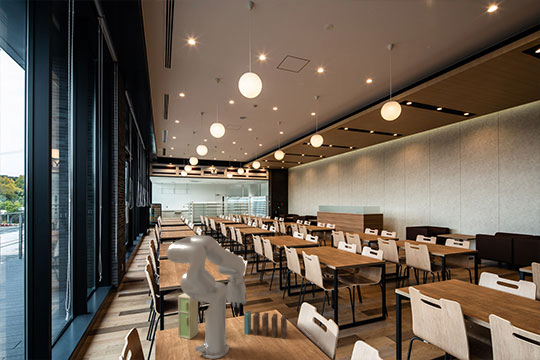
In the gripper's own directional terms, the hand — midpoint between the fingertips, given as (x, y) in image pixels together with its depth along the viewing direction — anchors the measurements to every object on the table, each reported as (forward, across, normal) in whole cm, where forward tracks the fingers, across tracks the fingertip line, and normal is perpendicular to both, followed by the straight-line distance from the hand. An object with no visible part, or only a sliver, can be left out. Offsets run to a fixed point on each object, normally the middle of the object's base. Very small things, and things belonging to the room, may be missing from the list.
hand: (237, 313), depth 147 cm
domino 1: (+9, +6, -1) cm, 11 cm away
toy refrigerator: (+8, -23, -12) cm, 28 cm away
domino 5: (+9, +26, -1) cm, 28 cm away
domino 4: (+9, +21, -1) cm, 23 cm away
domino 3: (+9, +16, -1) cm, 19 cm away
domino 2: (+9, +11, -1) cm, 14 cm away
